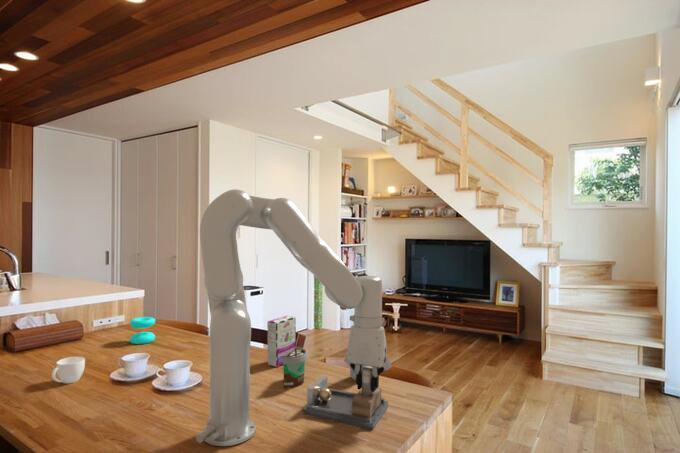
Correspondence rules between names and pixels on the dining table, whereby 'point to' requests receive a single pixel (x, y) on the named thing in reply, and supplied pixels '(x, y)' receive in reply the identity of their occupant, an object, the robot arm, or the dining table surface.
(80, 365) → the cup
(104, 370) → the dining table surface
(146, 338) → the donuts
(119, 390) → the dining table surface
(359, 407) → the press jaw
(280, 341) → the candy bar box
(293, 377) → the food container
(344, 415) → the grey tray
